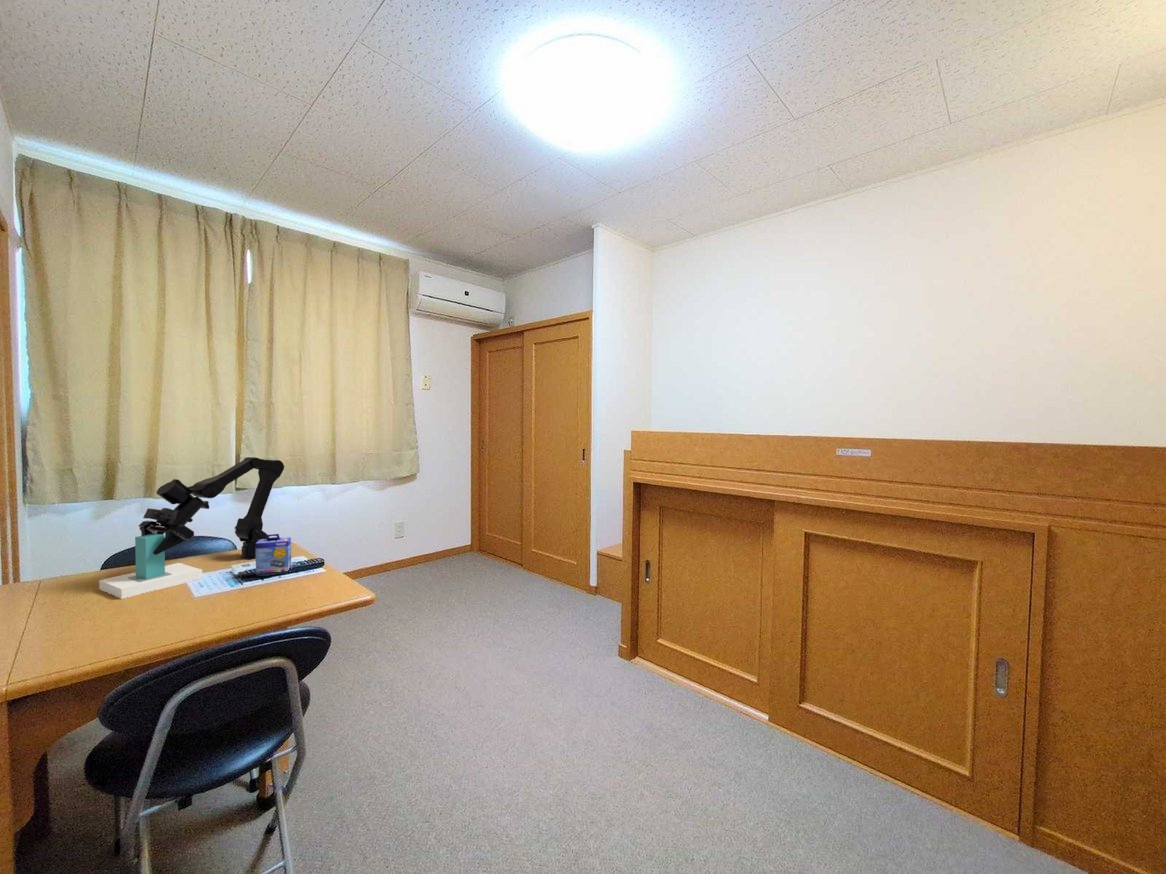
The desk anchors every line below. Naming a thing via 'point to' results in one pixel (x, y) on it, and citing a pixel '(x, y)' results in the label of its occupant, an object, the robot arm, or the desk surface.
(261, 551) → the ink cartridge box
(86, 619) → the desk surface
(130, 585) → the base plate
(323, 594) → the desk surface
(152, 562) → the teal block
